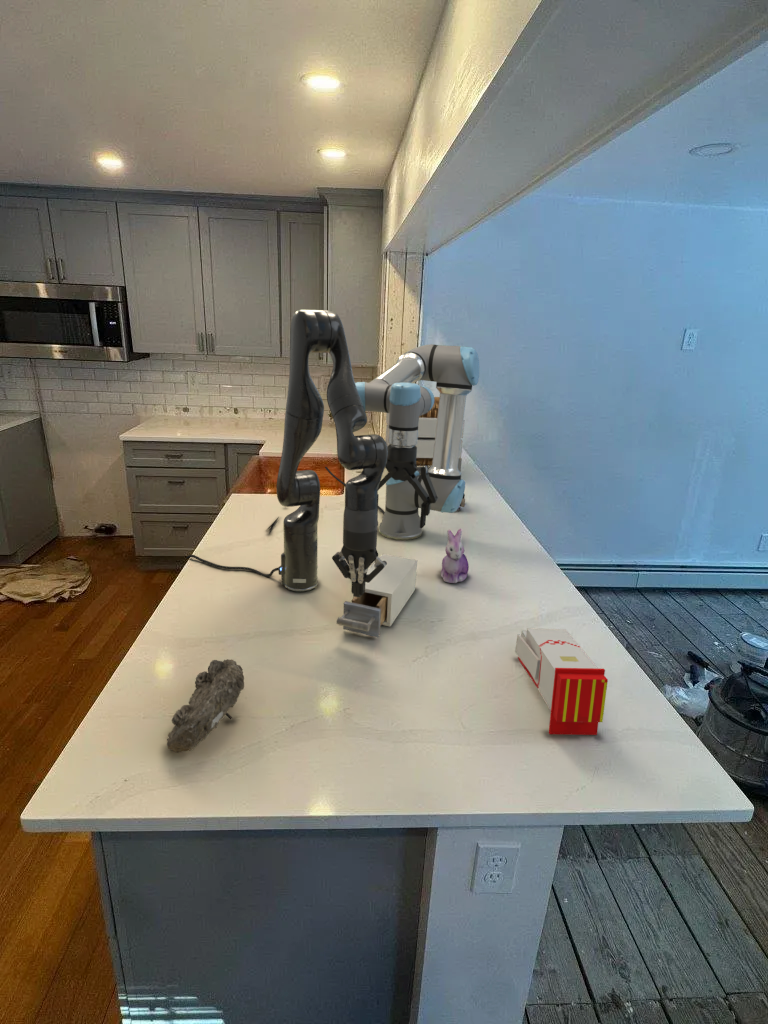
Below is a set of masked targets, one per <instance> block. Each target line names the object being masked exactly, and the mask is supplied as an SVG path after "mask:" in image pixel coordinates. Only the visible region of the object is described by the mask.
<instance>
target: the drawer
mask: <svg viewBox="0 0 768 1024" xmlns="http://www.w3.org/2000/svg"><path fill="white" fill-rule="evenodd" d="M387 605H388V597H386V596H381V595H376V594H371V593H367V592H364V594H363V595H362V596H361V597H354V598H353V597H352V599H351V601H347V600H345V601H344V602H343V614H342V616H338V617H337V619H336V625H338V626H342V629H343V630H345V631H349V632H355V633H359V634H363V635H366V636H371V637H375V638H378V637H379V636H380V635H381V627H382V626H383V625H382V623H383V622H384V621H385V619H386V618H387Z"/></svg>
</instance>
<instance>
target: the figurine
mask: <svg viewBox="0 0 768 1024" xmlns="http://www.w3.org/2000/svg"><path fill="white" fill-rule="evenodd" d="M446 534H447V543H446V546H445V548H444V549H445V554H446V555H444V557H443V558H442V560H441V569H440V577H441V578H442V580H443V582H445V583H451V584H457V583H461V582H463V581H465V580H466V579H467V577H468V574H469V569H470V568H469V567H470V566H469V565H470V564H469V561H468V558H467V556H466V555H465V554H464V553H465V547H464V545H463V542H462V535H463V529H462V528H459V529H458V530H457V531H456V533H455V535H454V534H453V532H452V530H451V529H448V530H447V532H446Z"/></svg>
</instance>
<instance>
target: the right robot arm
mask: <svg viewBox="0 0 768 1024" xmlns="http://www.w3.org/2000/svg"><path fill="white" fill-rule="evenodd" d="M479 378H480V359H479V354H478V352H477V350H476V349H475V348H474V347H470V346H464V345H446V344H445V345H444V344H443V345H442V344H432V343H431V344H424V345H421V346H417V347H414V348H411V349H409V350H407V351H405V352H404V353H402V354H401V355H400V356H399V357H398V358H397V360H396V363H394V364H393V365H391V366H390V367H389V368H388V369H386V370H385V371H383V372H382V373H381V374H379V375H377V376H376V377H375V378H374V379H372V380H371V381H369V382H366V381H357V382H356V381H355V385H356V388H357V391H358V393H359V396H360V399H361V401H362V404H363V407H364V410H365V412H375V413H384V414H386V413H389V433H388V443H389V446H388V456H387V462H386V465H385V469H386V471H387V472H388V473H387V474H385V476H384V477H383V478H381V481H380V484H379V487H378V491H379V490H380V489H382V488H383V486H384V485H385V504H384V505H385V507H384V508H385V509H383V508H382V507H380V506H379V494H378V496H377V512H378V513H379V511H380V512H381V513H382V519H381V522H379V525H378V533H379V534H380V535H381V536H382V537H385V538H387V539H389V540H395V541H410V540H415V539H418V538H420V537H421V536H422V535H423V529H424V527H425V526H426V523H427V517H428V516H429V515H430V513H431V511H435V512H441V513H447V514H448V513H449V514H453V513H456V512H457V511H458V510H459V509H458V508H459V506H460V504H461V501H462V498H463V495H464V494H465V490H466V480H465V479H462V473H460V471H459V470H458V460H459V451H460V443H461V440H462V438H461V435H462V427H463V419H464V420H465V418H464V417H465V411H466V400H467V396H468V395H469V394H470V393H471V392H472V391H473V386H477V385H478V384H479ZM419 381H425V382H435V389H437V391H438V392H439V397H440V398H439V407H438V416H437V425H436V434H435V443H434V452H433V461H432V465H430V466H429V465H428V466H427V465H424V466H417V464H416V456H417V447H416V446H415V445H416V444H417V441H418V423H419V416H421V415H424V414H426V413H428V411H429V410H431V408H432V407H433V405H434V397H435V395H434V392H433V391H432V389H430V388H429V387H428V386H426V385H425V386H424V385H419V384H418V382H419ZM324 468H325V470H326V471H327V472H328V473H329V474H330V475H331V476H332V477H333V478H334V479H335V480H336V481H338V483H340V484H342V485H343V486H344V487H345V486H346V482H344V481H342V480H341V479H340V478H339V477H337V476H336V475H335V474H334V473H333V472H332V471H331V470H330V469H329V468H328V467H327V466H325V467H324ZM460 507H461V506H460ZM419 509H420V515H419Z"/></svg>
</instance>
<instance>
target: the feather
mask: <svg viewBox="0 0 768 1024" xmlns="http://www.w3.org/2000/svg"><path fill="white" fill-rule="evenodd" d="M285 509H287V507H285ZM279 517H280V516H278V517H277V518H276V519H275V520H274V521H273V522H272V523H271V524H270V525H269V526H268V528H266V531H267V530H268V531H269V532H268V535H270V533H271V532H272V530H273V528H274V527H275V525H276V523H277V521H278V519H279Z"/></svg>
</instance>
